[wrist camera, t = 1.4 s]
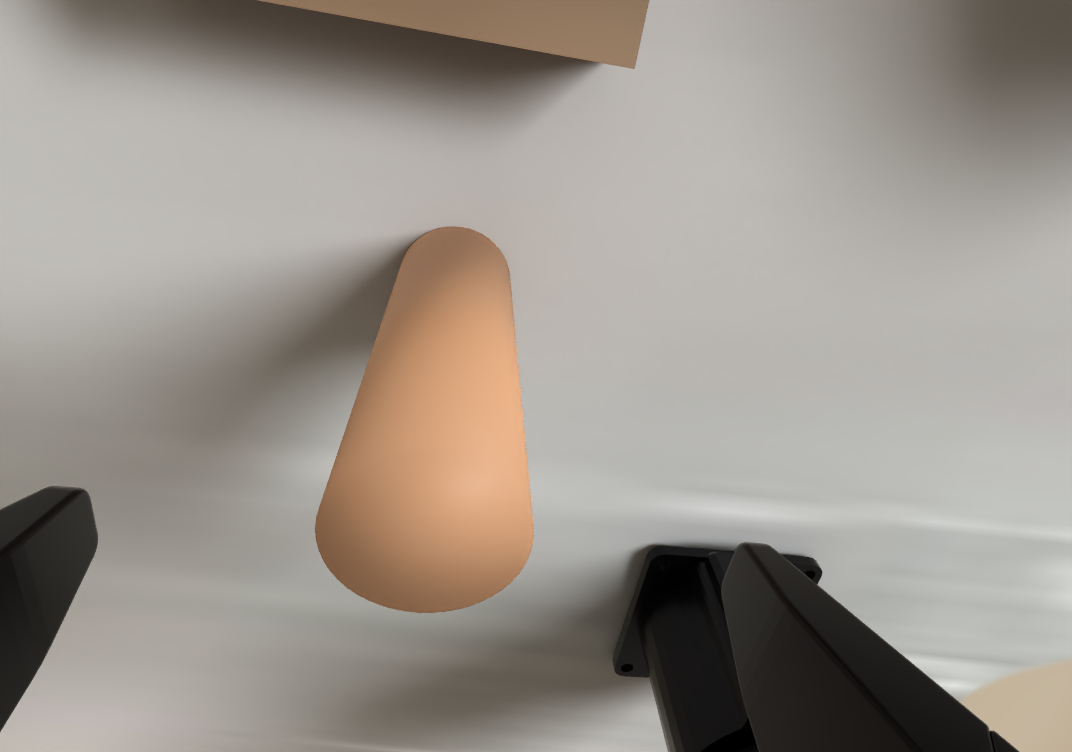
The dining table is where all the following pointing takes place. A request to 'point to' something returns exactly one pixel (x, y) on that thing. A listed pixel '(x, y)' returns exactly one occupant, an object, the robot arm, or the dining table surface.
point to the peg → (435, 440)
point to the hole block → (513, 22)
